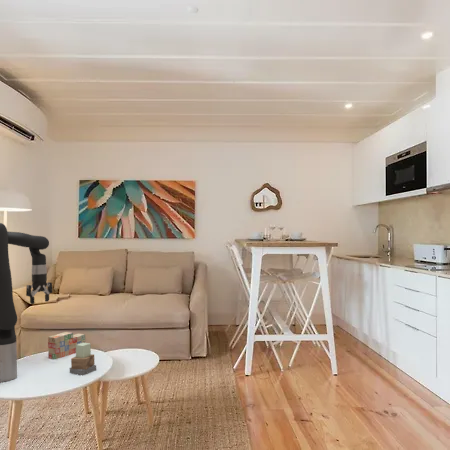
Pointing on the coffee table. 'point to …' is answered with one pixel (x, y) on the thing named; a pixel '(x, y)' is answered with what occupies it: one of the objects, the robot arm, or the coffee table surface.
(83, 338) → the stack of blocks
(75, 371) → the charcoal slab
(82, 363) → the walnut block
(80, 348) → the sage block
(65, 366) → the coffee table surface
